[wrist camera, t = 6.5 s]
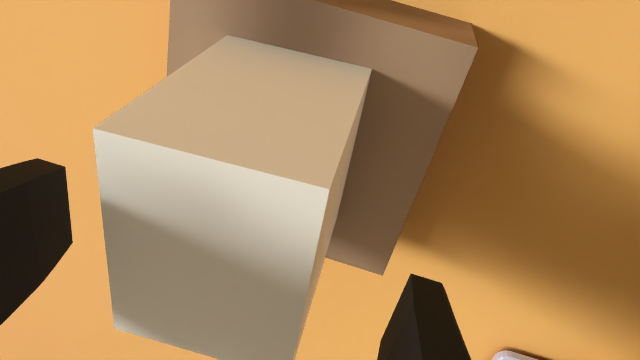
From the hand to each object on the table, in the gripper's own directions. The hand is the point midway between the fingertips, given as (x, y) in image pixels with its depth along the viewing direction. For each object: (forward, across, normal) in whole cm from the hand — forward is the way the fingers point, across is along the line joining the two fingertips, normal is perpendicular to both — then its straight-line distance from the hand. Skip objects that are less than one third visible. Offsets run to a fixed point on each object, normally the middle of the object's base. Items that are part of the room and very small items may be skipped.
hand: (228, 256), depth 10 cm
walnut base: (+8, 0, 0) cm, 8 cm away
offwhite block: (+5, 0, 0) cm, 5 cm away
